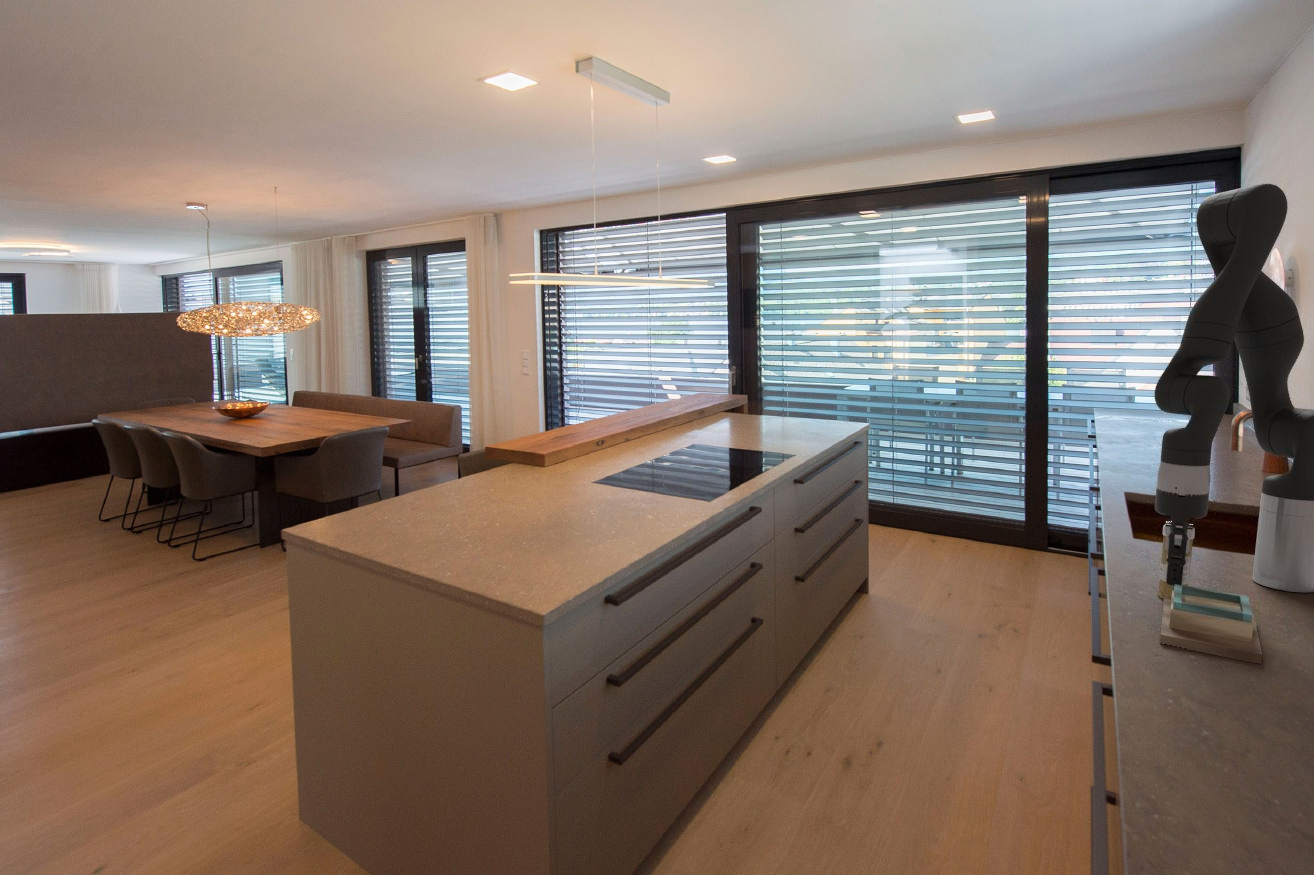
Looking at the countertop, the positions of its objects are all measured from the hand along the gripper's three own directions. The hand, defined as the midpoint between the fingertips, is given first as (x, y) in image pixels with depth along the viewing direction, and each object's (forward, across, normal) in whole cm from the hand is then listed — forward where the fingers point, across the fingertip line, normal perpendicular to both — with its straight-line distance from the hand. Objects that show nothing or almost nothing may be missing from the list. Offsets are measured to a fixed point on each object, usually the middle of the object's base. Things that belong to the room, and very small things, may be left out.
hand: (1174, 580), depth 127 cm
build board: (+3, +15, +5) cm, 16 cm away
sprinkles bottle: (+3, 0, 0) cm, 3 cm away
